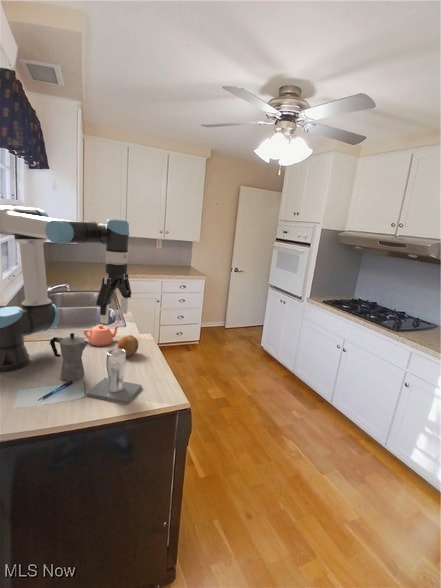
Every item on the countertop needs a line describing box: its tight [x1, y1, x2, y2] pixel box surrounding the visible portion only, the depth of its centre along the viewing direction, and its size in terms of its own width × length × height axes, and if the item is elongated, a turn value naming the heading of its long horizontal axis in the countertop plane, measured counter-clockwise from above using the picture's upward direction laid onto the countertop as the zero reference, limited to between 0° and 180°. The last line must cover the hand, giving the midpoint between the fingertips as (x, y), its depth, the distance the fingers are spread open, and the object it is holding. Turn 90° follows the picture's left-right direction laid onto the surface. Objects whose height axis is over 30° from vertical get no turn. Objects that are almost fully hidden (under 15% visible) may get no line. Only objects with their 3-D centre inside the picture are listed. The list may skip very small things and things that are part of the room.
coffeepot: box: [49, 332, 90, 381], centre depth 122 cm, size 15×9×18 cm, turn 89°
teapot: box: [83, 323, 121, 347], centre depth 158 cm, size 12×18×10 cm
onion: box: [117, 334, 139, 357], centre depth 146 cm, size 10×10×10 cm
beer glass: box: [105, 347, 127, 393], centre depth 114 cm, size 7×7×15 cm
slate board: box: [86, 377, 143, 405], centre depth 115 cm, size 16×12×1 cm
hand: (114, 317), depth 116 cm, fingers open, 13 cm apart
